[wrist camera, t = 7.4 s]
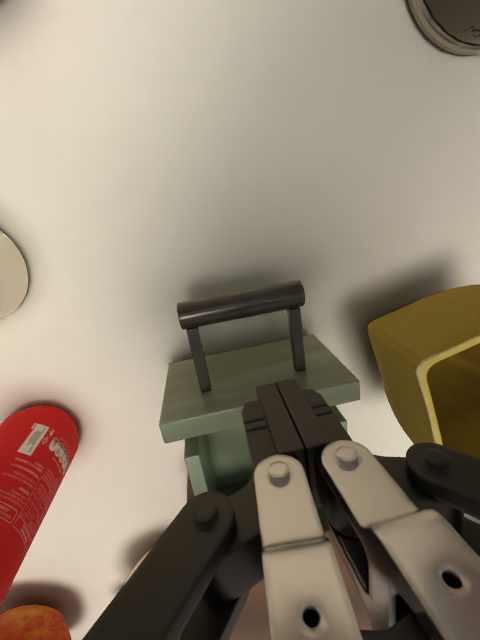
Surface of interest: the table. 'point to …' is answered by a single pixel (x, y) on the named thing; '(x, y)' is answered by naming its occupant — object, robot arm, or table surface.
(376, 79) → the table surface
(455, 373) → the flower pot
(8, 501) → the beverage can
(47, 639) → the fruit
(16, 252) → the can
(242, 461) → the drawer
